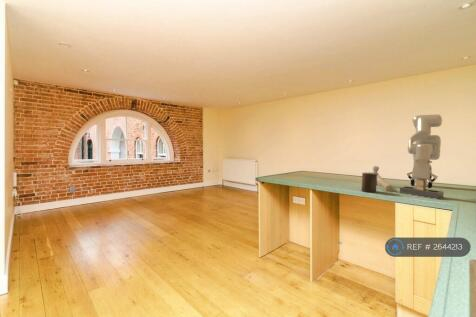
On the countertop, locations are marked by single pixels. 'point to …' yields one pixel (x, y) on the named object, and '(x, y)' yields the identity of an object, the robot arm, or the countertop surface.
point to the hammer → (382, 180)
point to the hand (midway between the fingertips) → (420, 186)
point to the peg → (421, 184)
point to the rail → (422, 192)
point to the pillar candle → (369, 182)
